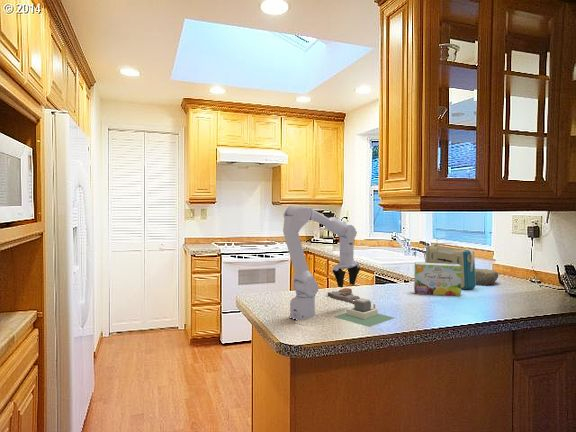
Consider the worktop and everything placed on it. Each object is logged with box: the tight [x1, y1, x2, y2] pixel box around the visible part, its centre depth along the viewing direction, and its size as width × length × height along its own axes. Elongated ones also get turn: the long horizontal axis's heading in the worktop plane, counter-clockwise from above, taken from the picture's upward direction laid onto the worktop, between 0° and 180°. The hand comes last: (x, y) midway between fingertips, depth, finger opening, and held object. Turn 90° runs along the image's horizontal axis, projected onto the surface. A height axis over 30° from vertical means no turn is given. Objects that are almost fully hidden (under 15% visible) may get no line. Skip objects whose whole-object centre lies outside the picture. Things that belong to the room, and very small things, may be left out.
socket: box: [346, 306, 379, 319], centre depth 159 cm, size 8×8×2 cm
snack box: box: [413, 261, 462, 297], centre depth 198 cm, size 21×6×15 cm, turn 76°
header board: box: [333, 312, 395, 328], centre depth 156 cm, size 16×17×1 cm
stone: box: [475, 268, 499, 286], centre depth 223 cm, size 14×19×8 cm
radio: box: [424, 237, 477, 291], centre depth 219 cm, size 30×8×25 cm, turn 25°
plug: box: [353, 297, 372, 312], centre depth 158 cm, size 4×4×6 cm
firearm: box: [327, 287, 361, 305], centre depth 187 cm, size 29×2×15 cm
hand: (346, 285), depth 168 cm, fingers open, 7 cm apart
